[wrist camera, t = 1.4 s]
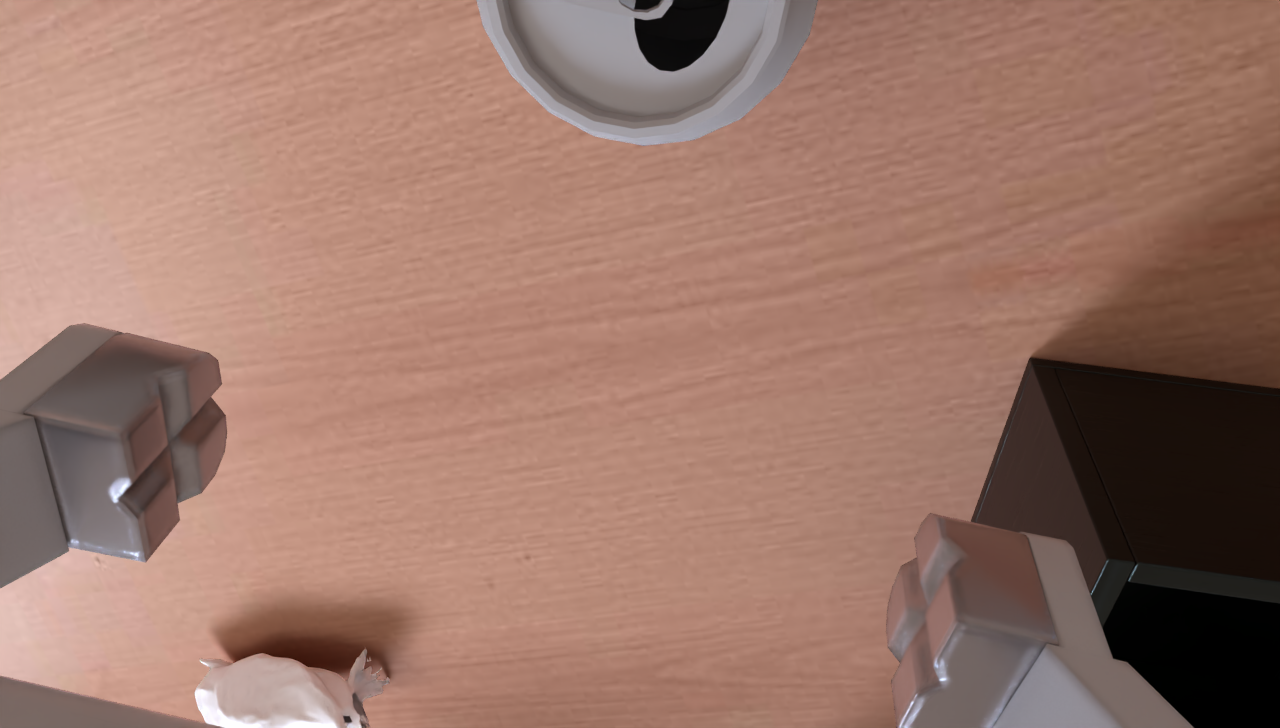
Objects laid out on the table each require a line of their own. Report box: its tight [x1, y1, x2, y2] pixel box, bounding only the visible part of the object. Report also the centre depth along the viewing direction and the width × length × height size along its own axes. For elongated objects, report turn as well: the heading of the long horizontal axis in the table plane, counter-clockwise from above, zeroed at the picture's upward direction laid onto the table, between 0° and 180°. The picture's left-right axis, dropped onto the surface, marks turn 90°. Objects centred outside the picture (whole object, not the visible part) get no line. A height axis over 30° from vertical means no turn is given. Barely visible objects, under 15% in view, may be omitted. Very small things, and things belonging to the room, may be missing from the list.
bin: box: [971, 358, 1280, 728], centre depth 34 cm, size 16×16×10 cm
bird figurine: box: [195, 649, 390, 728], centre depth 49 cm, size 5×7×10 cm
